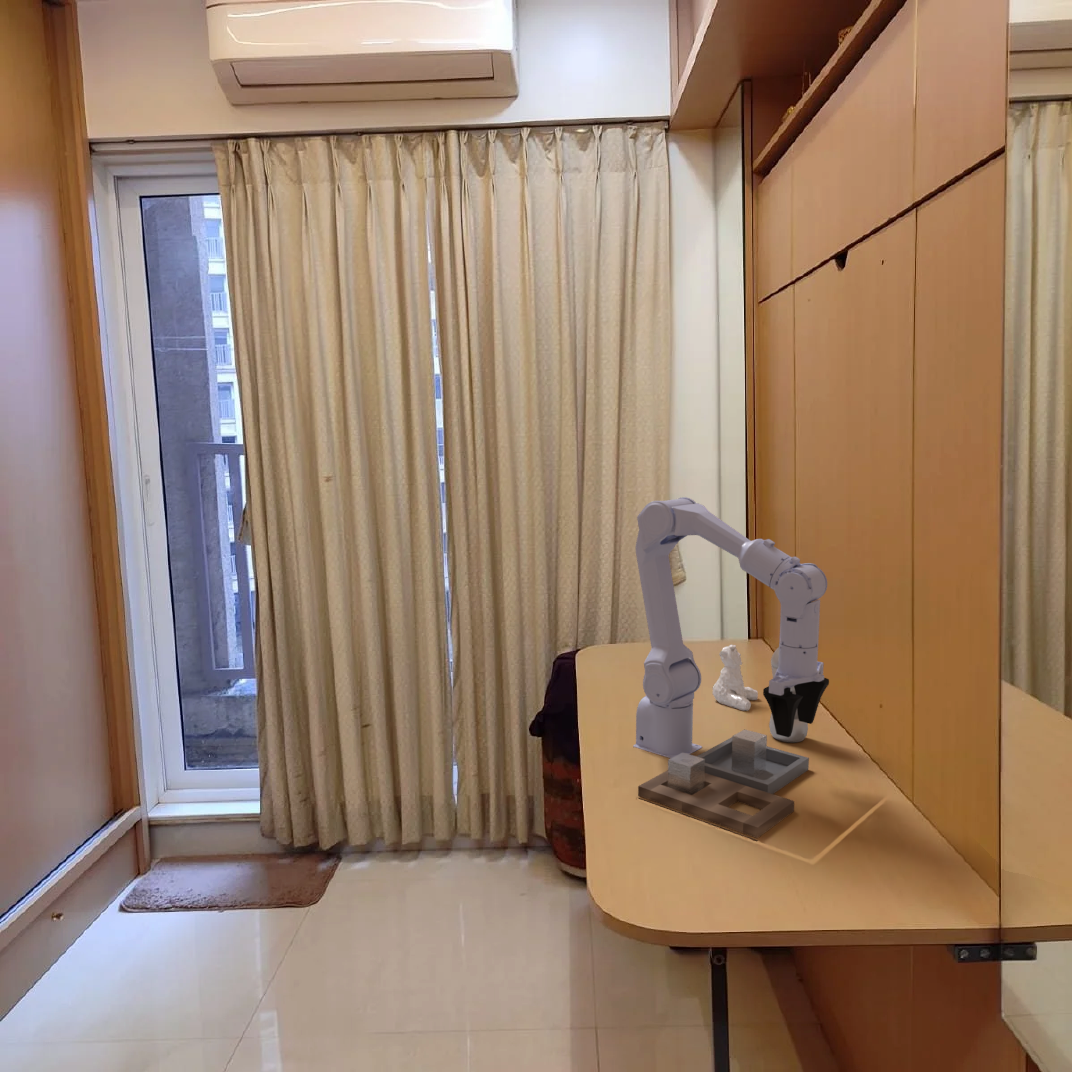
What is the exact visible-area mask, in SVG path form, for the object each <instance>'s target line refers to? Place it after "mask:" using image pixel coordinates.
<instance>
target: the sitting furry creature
mask: <svg viewBox="0 0 1072 1072" xmlns="http://www.w3.org/2000/svg"><path fill="white" fill-rule="evenodd" d="M718 656H719V657H720V660H721V662H722V664H723V665H724V666H723V668H721V670H720V675H719V677H718V679H717V680H716V682H714V685H713V687H712V695H713V697H714V699H715V700H716V701H717V702H718V703H719V704H721V705H725V706H728V707H731V708H734V709H736V710H740V711H743V712H745V711H749V710H750V709H751V705H752V704H751V701H758V697H759V696H758V695H759V693H758V690H757V689H753V687H750V686H745V683H744V680H743V675H742V670H741V668H742V667H741V666H743V665H742V664H743V662H742V657H741V653H740V652H739V651H738V649H737V645H736V644H729V645H728V646H727V645H726V646H724V647H722V650H721V651H719V655H718Z"/></svg>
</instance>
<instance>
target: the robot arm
mask: <svg viewBox="0 0 1072 1072" xmlns="http://www.w3.org/2000/svg"><path fill="white" fill-rule="evenodd" d="M636 520H637V524H638V525H637V526H638V533H637V538H636V542H635V549H634V550H635V555H636V557H635V558H636V562H637V569H638V574H639V581H640V586H641V592H642V598H643V604H644V610H645V617H646V621H647V622H646V623H647V627H648V636H649V640H650V646H651V648H650V651H649V653H648V655H646V656H647V657H646V658H645V660H644V662H643V665H644V676H643V679H642V688H643V692H644V694H645V696H643V697H642V698H641V700H640V701H639V703H638V704H637V705H638V706H637V708H636V713H635V723H636V724H635V744H633V748H636V749H639V750H643V751H646V752H648V753H649V752H650V753H653V754H656V755H658V756H661V757H665V758H668V759H671V758H673V757H675V756H676V755H678V754H680V753H682V752H683V753H687V754H690V755H692V754H693V753H695V752H697V751H698V750H700V749H703V746H702V745H699V744H697V743H693V721H694V720H693V719H694V699H695V692H697V690H699V688H700V686H701V684H702V673H701V670H700V668H699V666H698V665H697V663H696V662H695V659H694V654H693V651H692V650H691V649H690V648H689V647H687V646H686V645H685V643H684V639H683V636H682V630H681V623H680V617H679V616H680V615H679V610H678V605H677V598H676V593H675V586H674V581H673V575H672V568H671V562H670V557H669V555H670V554H671V552H672V550H674V548H675V547H676V546H677V545H678V543H679V542H680V541H681V540H683V539H685V538H686V537H687V536H699V537H701V538H702V539H704V540H706V541H708V542H710V543H711V544H713V545H715V546H716V547H718V548H720V549H722V550H723V551H725V552H726V553H729V554H730V555H732V556H734V557H736V558H738V563H739V567H740V569H741V570H742V571H744V572H745V573H747V574H749V575H750V576H752V577H753V578H755V579H756V580H758V581H759V582H760V583H762V584H764V585H765V586H767V587H768V588H770V589H771V590H773V591H774V593H775V597H776V598H777V599H778V601H779V603H780V623H779V642H778V643H779V644H778V647H779V664H778V669H777V670H776V673H775V675H774V677H773V676H772V679H770V680H769V681H768V682H769V684H768V686H766V687H764V688H763V692H762V694H763V697H764V698H765V700H766V702H767V704H768V707H769V709H770V712H771V713H772V716H773V720H774V725H775V730H776V734H778V735H781V736H785V737H790V736H791V734H792V730H793V725H794V718H795V714H796V710H797V713H798V719H799V721H801V722H805V723H808V724H810V725H811V724H814V721H815V718H816V715H817V714H816V713H817V710H818V708H819V707H818V706H819V704H820V701H821V699H822V696H823V694H824V693H825V690H826V689H827V688H828V686H829V684H830V679H829V678H827V677H825V675H824V665H825V664H824V662H822V661H818V657H819V654H818V653H819V636H820V619H821V618H820V617H821V615H820V612H821V598H822V597H823V596H824V595H825V594H826V591H827V589H828V579H827V576H826V574H825V572H824V571H823V570H822V569H821V568H819V567H818V566H817V564H816V563H813V562H812V563H811V562H807V563H801V562H800V561H801V559H800V558H799V557H797V556H790V555H789V554H787V553H785V552H784V551H782V550H781V549H779V548H777V547H776V546H775V545H776V542H775V541H773V540H772V539H770V538H767V539H763V538H756V539H753V540H750V539H749V538H747V537H746V536H745V535H744V534H742V533H740V532H739V531H737V530H736V529H735V528H733V527H732V526H731V525H729V524H728V523H726V522H725V521H723V520H722V519H720V518H719V517H717V516H716V514H715V515H714V513H712V512H710V511H709V510H708V508H707V507H706V506H705V505H703V504H702V503H699V502H696V501H695V500H694V499H692V498H690V497H687V496H685V497H683V496H682V497H679V498H675V499H669V500H668V499H667V500H652V501H650V502H648V503H647V504H646V505H645V506H644V507H643V508H642V510H641V511H640V512H639V514H638V515H637V517H636ZM793 686H794V688H795V692H796V694H792V691H791V692H790V689H791V687H793Z"/></svg>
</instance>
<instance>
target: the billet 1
mask: <svg viewBox="0 0 1072 1072" xmlns="http://www.w3.org/2000/svg"><path fill="white" fill-rule="evenodd" d="M697 756H698V755H693V754H687V753H683V752H682V753H680V754H678V755H676V756H675V757H673V758H668V760H667V770H668V787H669V788H672V789H675V790H678V791H681V792H684V793H687V794H690V795H693V794H695V793H696V792H698V791H700V790H701V789H703V788H704V777H705V759H703V758H700V757H697Z"/></svg>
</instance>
